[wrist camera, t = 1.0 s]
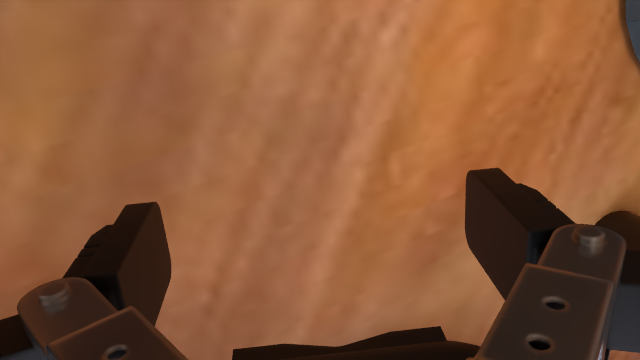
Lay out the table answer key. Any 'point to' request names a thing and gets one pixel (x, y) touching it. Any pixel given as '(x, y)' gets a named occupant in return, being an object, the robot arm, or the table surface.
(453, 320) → the table surface
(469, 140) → the table surface
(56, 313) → the robot arm
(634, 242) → the black cylinder
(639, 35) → the bowl
